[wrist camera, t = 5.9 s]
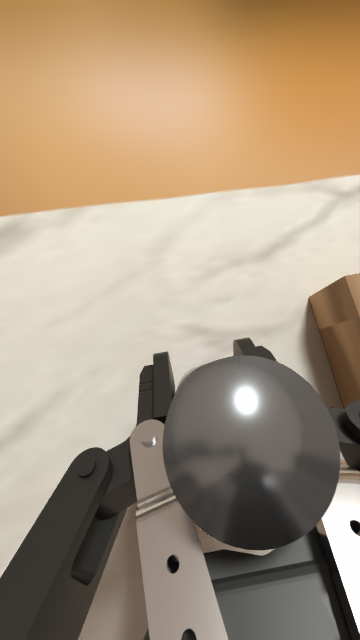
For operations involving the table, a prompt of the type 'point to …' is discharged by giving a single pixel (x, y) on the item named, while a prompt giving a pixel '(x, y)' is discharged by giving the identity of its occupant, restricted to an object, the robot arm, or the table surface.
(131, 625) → the table surface
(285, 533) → the steel rod
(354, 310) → the wooden frame
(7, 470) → the table surface
